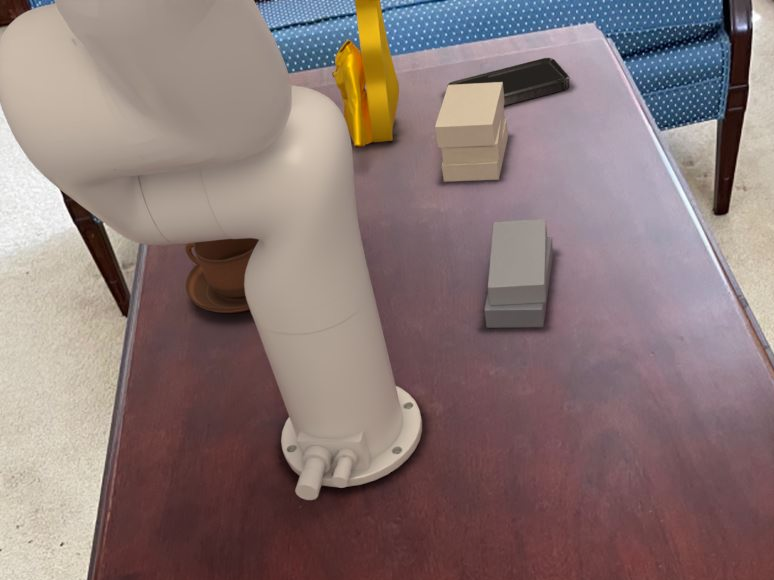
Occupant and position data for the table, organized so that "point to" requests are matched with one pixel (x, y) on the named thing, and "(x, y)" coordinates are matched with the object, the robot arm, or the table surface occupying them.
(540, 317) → the grey stack
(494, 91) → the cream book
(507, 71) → the phone
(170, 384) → the table surface
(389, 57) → the figure statuette
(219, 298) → the cup and saucer
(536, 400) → the table surface
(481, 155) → the cream stack
